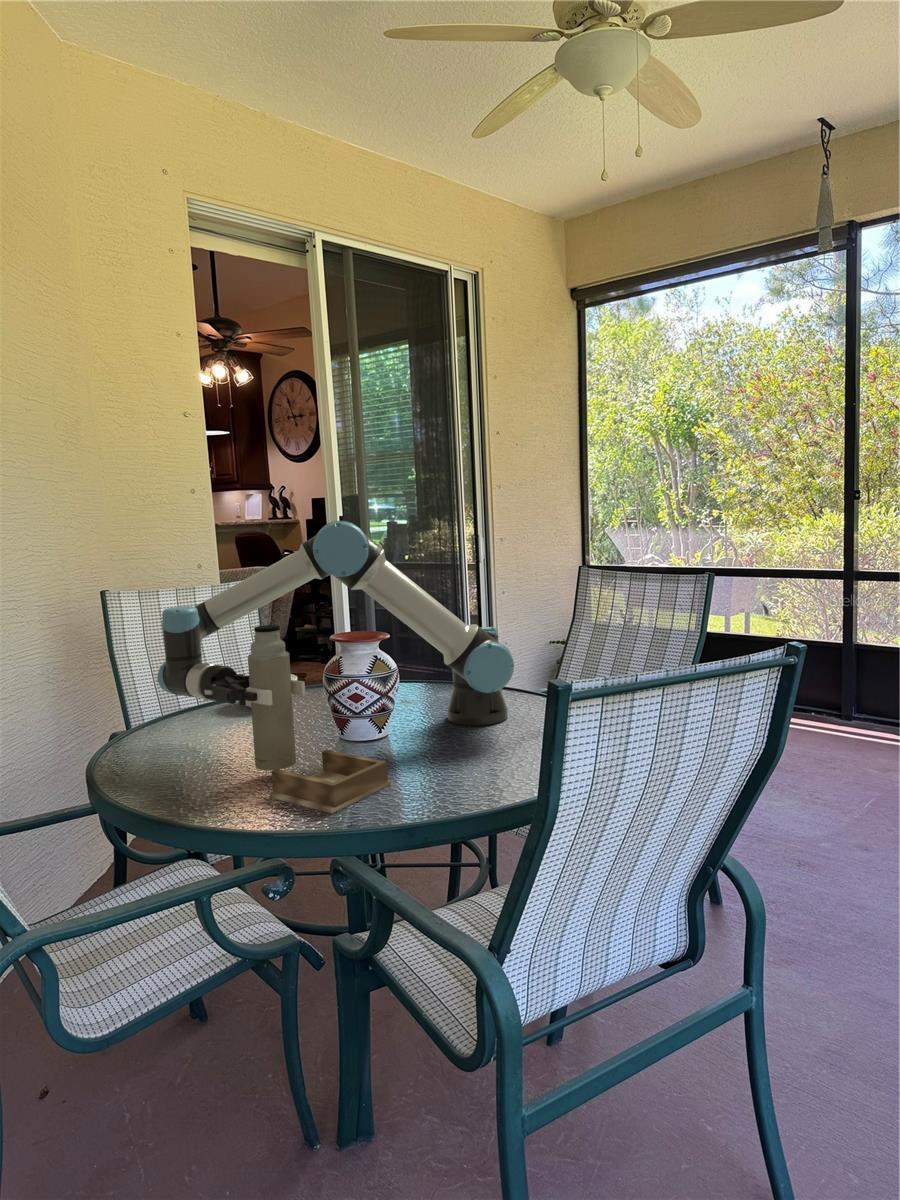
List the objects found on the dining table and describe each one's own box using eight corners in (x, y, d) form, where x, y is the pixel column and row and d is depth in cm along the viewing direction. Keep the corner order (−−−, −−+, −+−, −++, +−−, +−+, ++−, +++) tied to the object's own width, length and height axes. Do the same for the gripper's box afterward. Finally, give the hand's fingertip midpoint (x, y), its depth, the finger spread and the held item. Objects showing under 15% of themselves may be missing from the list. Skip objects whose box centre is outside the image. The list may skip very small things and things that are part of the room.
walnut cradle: (269, 797, 140) (268, 772, 139) (330, 771, 153) (328, 748, 152) (332, 813, 130) (330, 787, 130) (390, 784, 143) (389, 760, 143)
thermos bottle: (247, 765, 150) (237, 627, 147) (281, 755, 155) (272, 621, 152) (269, 773, 144) (259, 630, 141) (304, 762, 150) (295, 624, 147)
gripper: (253, 689, 167) (326, 700, 154) (172, 711, 151) (246, 725, 137) (250, 656, 166) (324, 664, 153) (168, 674, 150) (243, 685, 137)
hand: (287, 693), depth 145 cm, fingers closed on thermos bottle, 8 cm apart
